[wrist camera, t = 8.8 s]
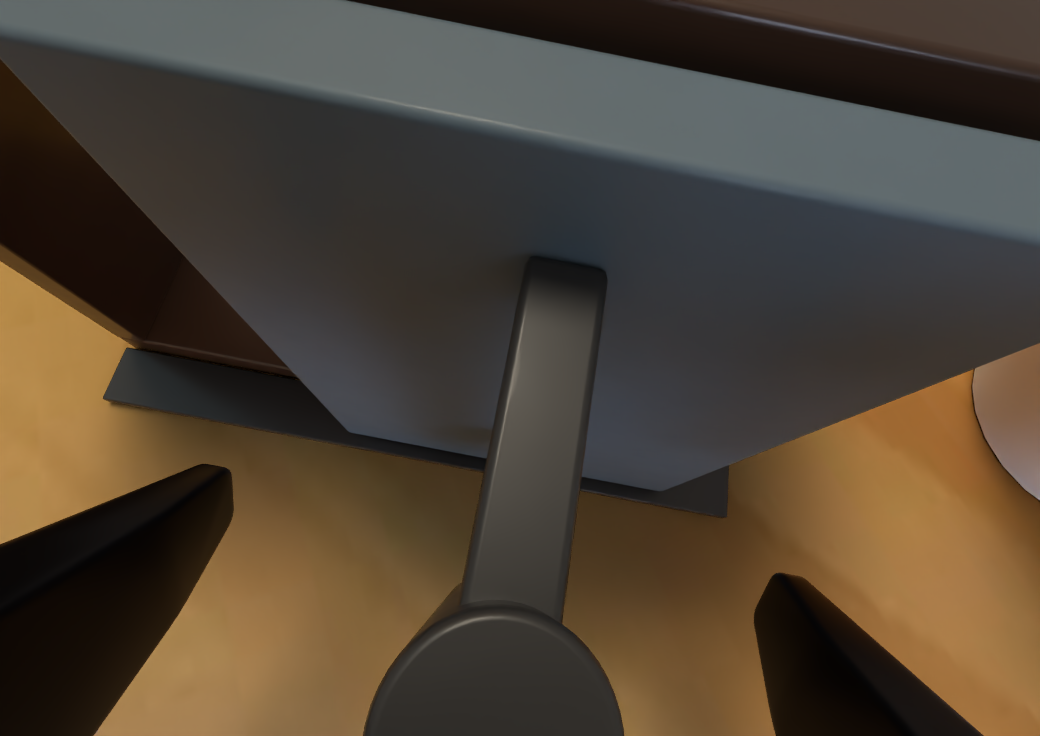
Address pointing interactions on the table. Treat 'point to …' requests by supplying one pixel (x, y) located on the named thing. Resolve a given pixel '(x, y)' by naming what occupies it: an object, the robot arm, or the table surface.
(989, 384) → the cup
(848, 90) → the closet
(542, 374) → the closet door
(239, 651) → the table surface
